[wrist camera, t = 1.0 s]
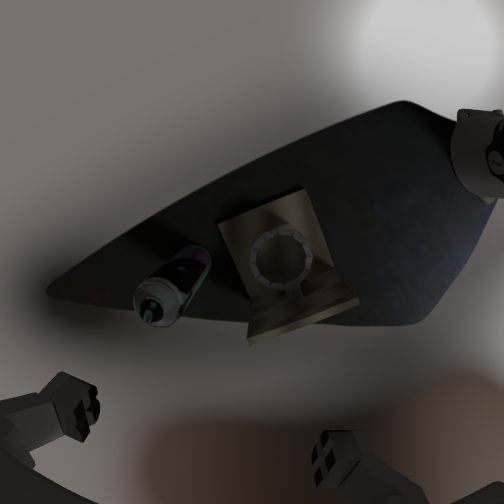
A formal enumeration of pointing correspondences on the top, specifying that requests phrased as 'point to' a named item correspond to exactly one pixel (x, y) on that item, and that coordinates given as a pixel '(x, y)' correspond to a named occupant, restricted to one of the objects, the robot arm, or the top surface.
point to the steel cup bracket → (287, 277)
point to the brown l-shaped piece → (283, 257)
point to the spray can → (171, 287)
